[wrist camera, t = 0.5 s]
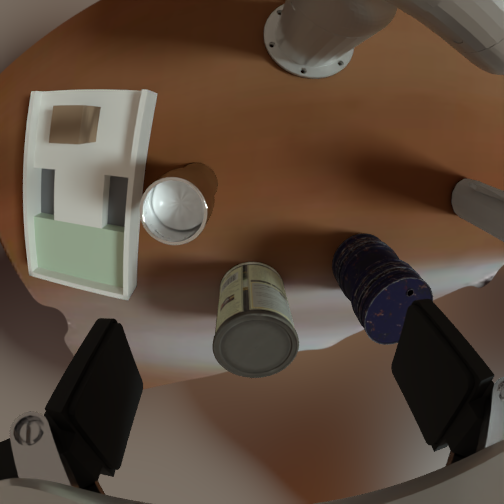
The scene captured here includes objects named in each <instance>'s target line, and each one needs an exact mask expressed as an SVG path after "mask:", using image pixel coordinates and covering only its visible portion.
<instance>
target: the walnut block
mask: <svg viewBox="0 0 504 504" xmlns="http://www.w3.org/2000/svg"><path fill="white" fill-rule="evenodd" d="M100 109H101V107H97V106H87V105H57V106H53V111H52V118H51V126H50V135H49V143H59V144H78V145H79V144H85V143H92V142H96V136H97V129H98V122H99V115H100Z"/></svg>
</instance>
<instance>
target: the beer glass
mask: <svg viewBox="0 0 504 504" xmlns="http://www.w3.org/2000/svg"><path fill="white" fill-rule="evenodd" d="M217 188H218V180H217V177H216V175H215V173H214V171H213V170H212V169H211V168H210V167H208V166H207V165H205V164H202V163H191V164H188V165H186V166H184V167H183V168H178V169H174V170H171V171H169V172H167V173H165V174H163V175H162V176H160V177H159V178H158V179H157V180H156V181H155V182H154V183H152V184H151V185H150V186H149V187H148V188H147V189H146V191H145V192H144V194H143V196H142V199H141V202H140V218H141V221H142V224H143V226H144V228H145V229H146V231H147V232H148V233H149V234H150V235H151V236H152V237H153V238H155V239H156V240H158V241H160V242H162V243H164V244H169V245H181V244H185V243H188V242H190V241H192V240H193V239H195V238H196V237H197V236H198V235H199V234H200V233H201V232H202V230H203V228H204V227H205V225H206V224H207V222H208V220H209V218H210V216H211V214H212V212H213V208H214V203H215V194H216V192H217Z"/></svg>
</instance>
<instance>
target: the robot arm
mask: <svg viewBox="0 0 504 504" xmlns="http://www.w3.org/2000/svg"><path fill="white" fill-rule="evenodd" d="M397 8H399V9H400V10H402V11H403V12H405V13H407V14H408V15H411V16H412V17H414V18H415V19H417V20H418V21H419V22H421V23H422V24H424V25H425V26H426V27H428V28H429V29H430V30H432V31H433V32H434V33H436V34H437V35H438V36H440V37H441V38H442V39H443V40H445V41H446V42H447V43H448V44H449V45H451V46H452V47H453V48H454V49H456V50H457V51H458V52H459V53H460V54H462V55H463V56H464V57H465V58H466V59H468V60H469V61H470V62H471V63H473V64H474V65H476V66H477V67H479V68H480V69H482V70H484V71H486V72H488V73H491V74H496V75H504V0H286V1H285V4H283V5H281V6H280V7H278V8H276V9H275V10H274V11H273V12H272V13H271V14H270V16H269V17H268V19H267V21H266V24H265V27H264V43H265V47H266V49H267V51H268V53H269V55H270V56H271V58H272V59H273V60H274V61H275V62H276V63H277V64H278V65H279V66H280V67H281V68H283V69H284V70H286V71H287V72H289V73H291V74H293V75H296V76H299V77H303V78H310V79H320V78H325V77H329V76H331V75H334V74H336V73H337V72H339V71H341V70H342V69H343V68H344V67H346V65H347V64H348V63H349V61H350V60H351V57H352V55H353V51H354V48H355V47H356V46H358V45H359V44H361V43H362V42H364V41H365V40H367V39H368V38H370V37H371V36H373V35H374V34H376V33H377V32H379V31H380V30H382V29H383V28H385V27H386V26H387V25H388V24H389V23H390V22H391V21H392V19H393V18H394V16H395V14H396V11H397ZM278 13H280V14H281V15H278ZM270 45H273V48H271V47H270ZM338 63H340V66H339V65H338ZM301 70H303V71H304V73H301ZM392 373H393V375H394V377H395V379H396V381H397V383H398V385H399V387H400V389H401V391H402V393H403V395H404V397H405V399H406V401H407V403H408V405H409V407H410V409H411V411H412V413H413V415H414V417H415V420H416V421H417V424H418V426H419V428H420V430H421V432H422V434H423V437H424V439H425V441H426V443H427V444H428V445H431V446H432V448H433V450H434V452H435V451H437V450H440V449H442V448H445V447H447V446H449V448H450V450H451V451H450V454H449V457H448V460H447V463H446V466H445V467H443V468H441V469H439V470H436V471H434V472H431V473H429V474H426V475H424V476H421V477H418V478H415V479H412V480H410V481H407V482H404V483H401V484H397V485H394V486H391V487H388V488H385V489H381V490H377V491H374V492H370V493H365V494H361V495H357V496H353V497H348V498H344V499H339V500H333V501H328V502H322V503H316V504H504V377H502V378H500V379H498V380H497V381H496V383H495V384H494V383H493V381H492V379H493V377H494V374H493V373H492V371H491V370H490V369H489V367H488V366H487V365H486V363H485V362H484V361H483V360H482V358H481V357H480V356H479V355H478V354H477V352H476V351H475V350H474V349H473V347H472V346H471V345H470V344H469V343H468V341H467V340H466V339H465V338H464V337H463V335H462V334H461V333H460V332H459V331H458V329H457V328H455V326H454V325H453V324H452V323H451V322H450V320H449V319H448V318H447V317H446V316H445V315H444V314H443V312H442V311H441V310H440V309H439V308H438V307H437V306H436V305H435V304H434V303H433V301H432V300H430V299H421V300H415V301H413V302H412V304H411V305H410V306H409V307H408V309H407V312H406V316H405V320H404V324H403V328H402V331H401V335H400V339H399V342H398V346H397V349H396V352H395V356H394V359H393V362H392ZM142 390H143V382H142V379H141V376H140V374H139V371H138V369H137V366H136V363H135V361H134V358H133V355H132V353H131V350H130V347H129V344H128V341H127V338H126V336H125V333H124V330H123V327H122V325H121V324H120V323H117V321H116V320H115V319H104V318H100V319H98V320H97V321H96V322H95V324H94V325H93V327H92V328H91V330H90V332H89V333H88V335H87V336H86V338H85V340H84V341H83V343H82V344H81V346H80V348H79V349H78V351H77V353H76V354H75V356H74V358H73V359H72V361H71V363H70V364H69V366H68V368H67V369H66V371H65V373H64V374H63V376H62V378H61V380H60V382H59V383H58V385H57V387H56V389H55V390H54V392H53V394H52V396H51V398H50V400H49V401H48V403H47V405H46V407H45V410H46V412H45V414H44V416H43V415H42V414H41V413H38V412H31V411H30V412H26V413H24V414H22V415H20V416H19V417H17V418H16V419H15V420H14V422H13V424H12V425H11V429H10V438H9V439H7V440H5V441H2V442H0V504H151V503H143V502H139V501H133V500H127V499H122V498H117V497H112V496H108V495H105V493H104V491H103V489H102V488H101V486H100V484H99V482H98V478H99V475H100V474H103V475H108V476H112V477H114V473H115V470H118V469H119V468H120V466H121V463H122V459H123V456H124V452H125V448H126V445H127V441H128V438H129V434H130V430H131V427H132V423H133V420H134V417H135V413H136V410H137V407H138V404H139V400H140V397H141V394H142Z"/></svg>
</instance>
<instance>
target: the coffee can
mask: <svg viewBox="0 0 504 504" xmlns="http://www.w3.org/2000/svg"><path fill="white" fill-rule="evenodd" d="M298 349H299V339H298V335H297V333H296V330H295V328H294V324H293V320H292V316H291V312H290V308H289V304H288V301H287V297H286V293H285V290H284V284H283V281H282V278H281V276H280V275H279V274H278V272H277V271H276V270H274V269H273V268H272V267H270V266H268V265H266V264H263V263H259V262H246V263H242V264H239V265H236V266H235V267H233V268H232V269H230V270H229V271H228V272H227V273H226V274H225V276H224V277H223V279H222V281H221V284H220V294H219V303H218V312H217V319H216V330H215V336H214V339H213V353H214V356H215V358H216V360H217V361H218V362H219V364H220V365H221V366H222V367H224V368H225V369H226V370H228V371H229V372H231V373H233V374H236V375H239V376H243V377H250V378H259V377H266V376H270V375H273V374H275V373H278V372H280V371H281V370H283V369H285V368H286V367H287V366H288V365H289V364H290V363H291V362H292V361H293V360H294V358H295V357H296V354H297V352H298Z"/></svg>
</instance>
